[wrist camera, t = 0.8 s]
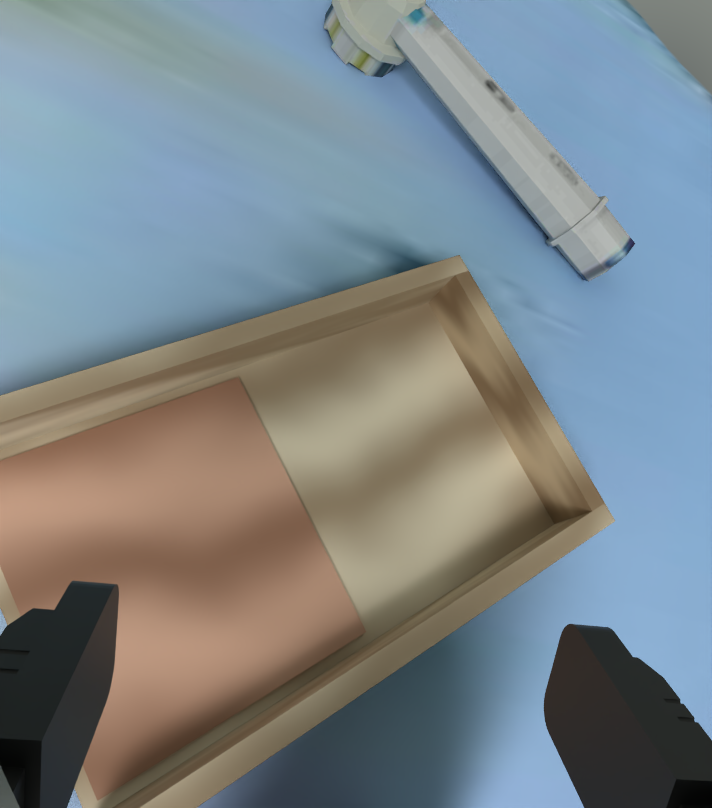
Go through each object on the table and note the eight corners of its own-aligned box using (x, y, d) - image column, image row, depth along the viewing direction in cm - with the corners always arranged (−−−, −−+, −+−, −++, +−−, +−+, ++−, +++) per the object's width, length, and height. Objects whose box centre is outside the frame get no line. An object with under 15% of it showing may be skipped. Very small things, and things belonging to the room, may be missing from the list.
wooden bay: (-63, 454, 27) (-79, 419, 24) (424, 292, 40) (459, 255, 37) (98, 845, 25) (106, 868, 21) (564, 536, 38) (615, 521, 34)
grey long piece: (619, 268, 42) (351, -68, 39) (543, 309, 48) (302, 18, 44) (649, 227, 45) (401, -92, 41) (573, 270, 51) (349, -7, 47)
